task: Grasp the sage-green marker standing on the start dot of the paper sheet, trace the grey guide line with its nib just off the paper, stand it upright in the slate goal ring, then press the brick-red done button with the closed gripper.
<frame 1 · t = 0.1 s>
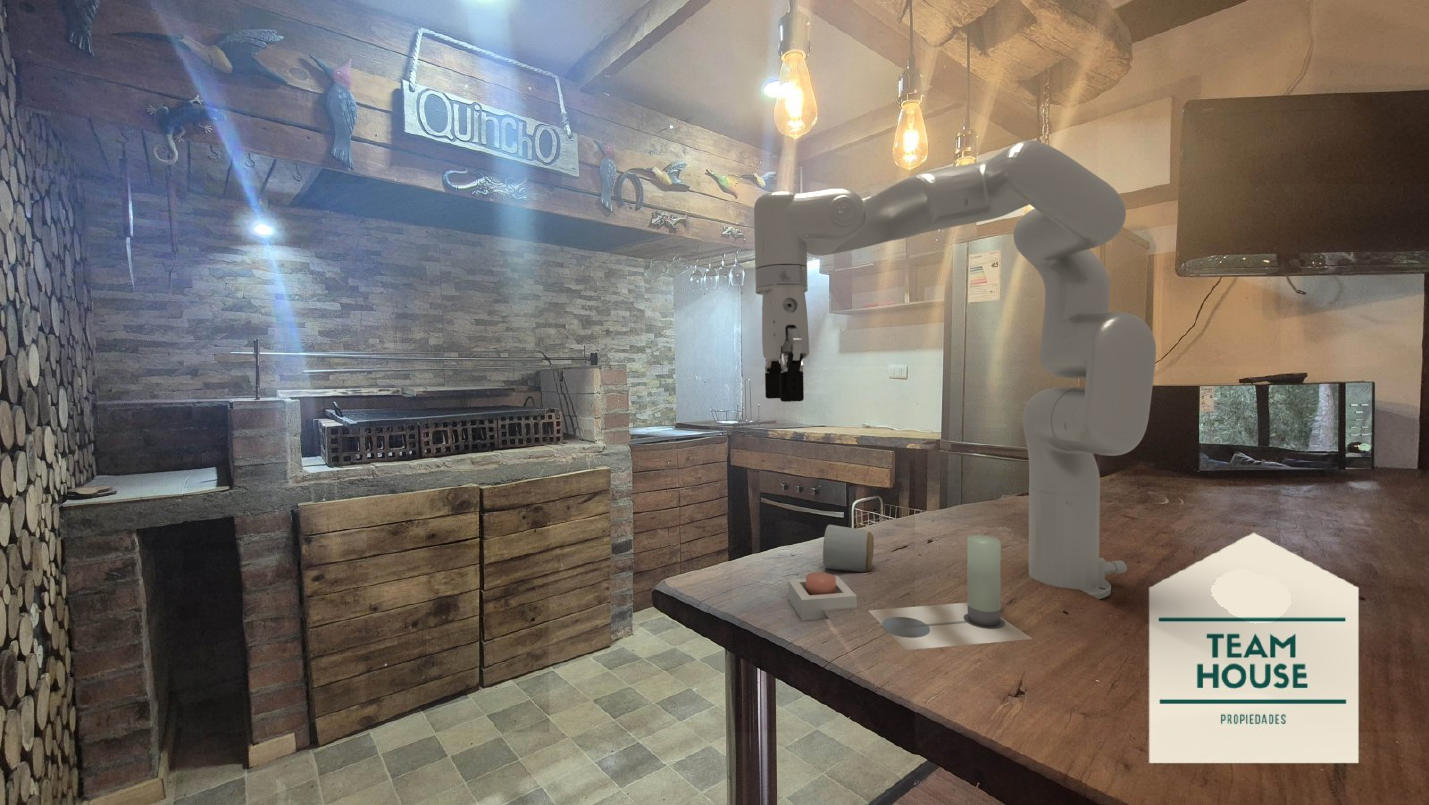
hand: (783, 399, 83), 31 cm above the table, fingers open, 9 cm apart
done button: (820, 584, 84), point 3 cm above the table, slide at 0.0 cm
ceramic mug: (848, 568, 102), on the table
marker: (983, 620, 76), point 1 cm above the table, touching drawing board
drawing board: (945, 633, 75), on the table
button housing: (821, 607, 85), on the table
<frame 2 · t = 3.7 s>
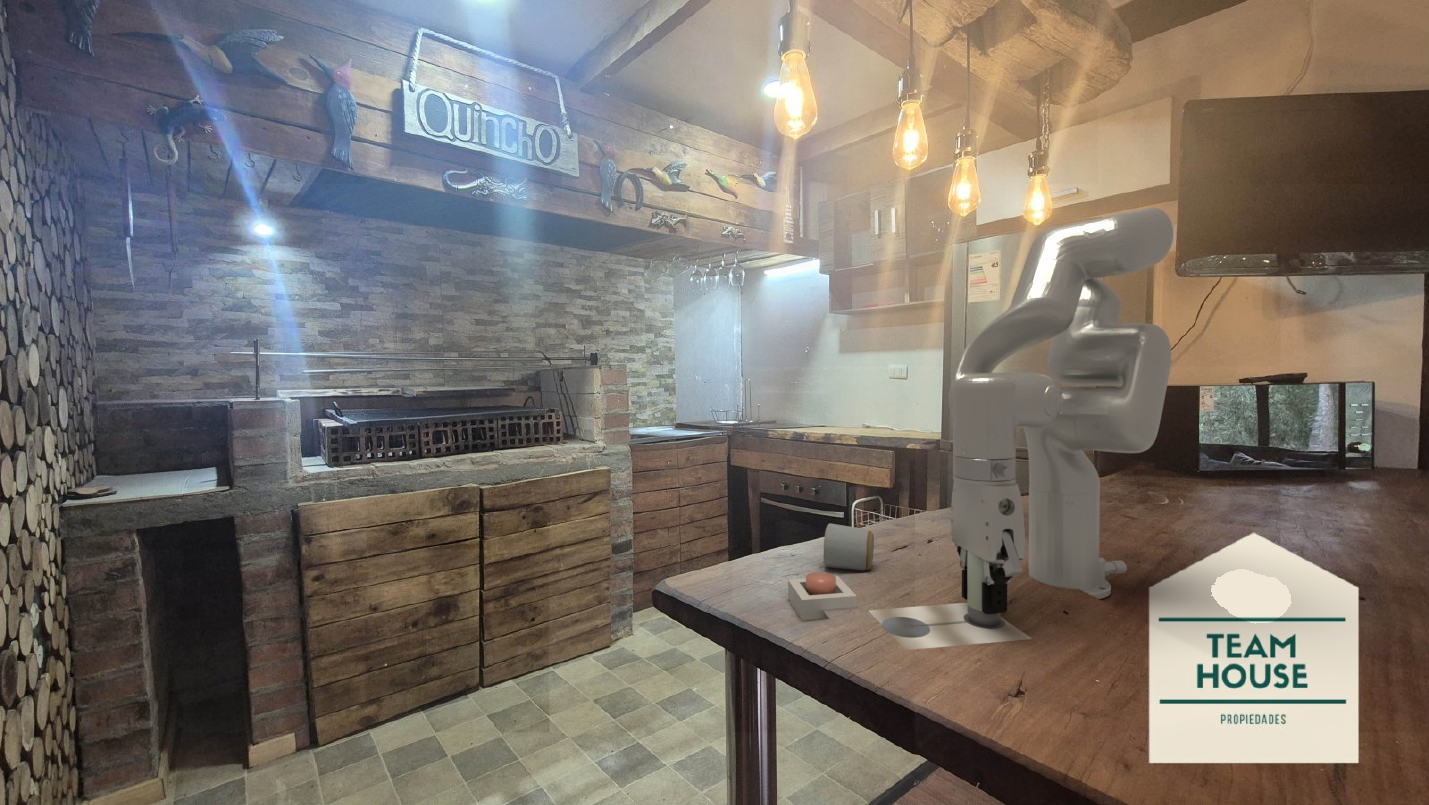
hand: (983, 603, 76), 4 cm above the table, fingers closed on marker, 3 cm apart
marker: (983, 620, 76), point 1 cm above the table, touching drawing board, gripper
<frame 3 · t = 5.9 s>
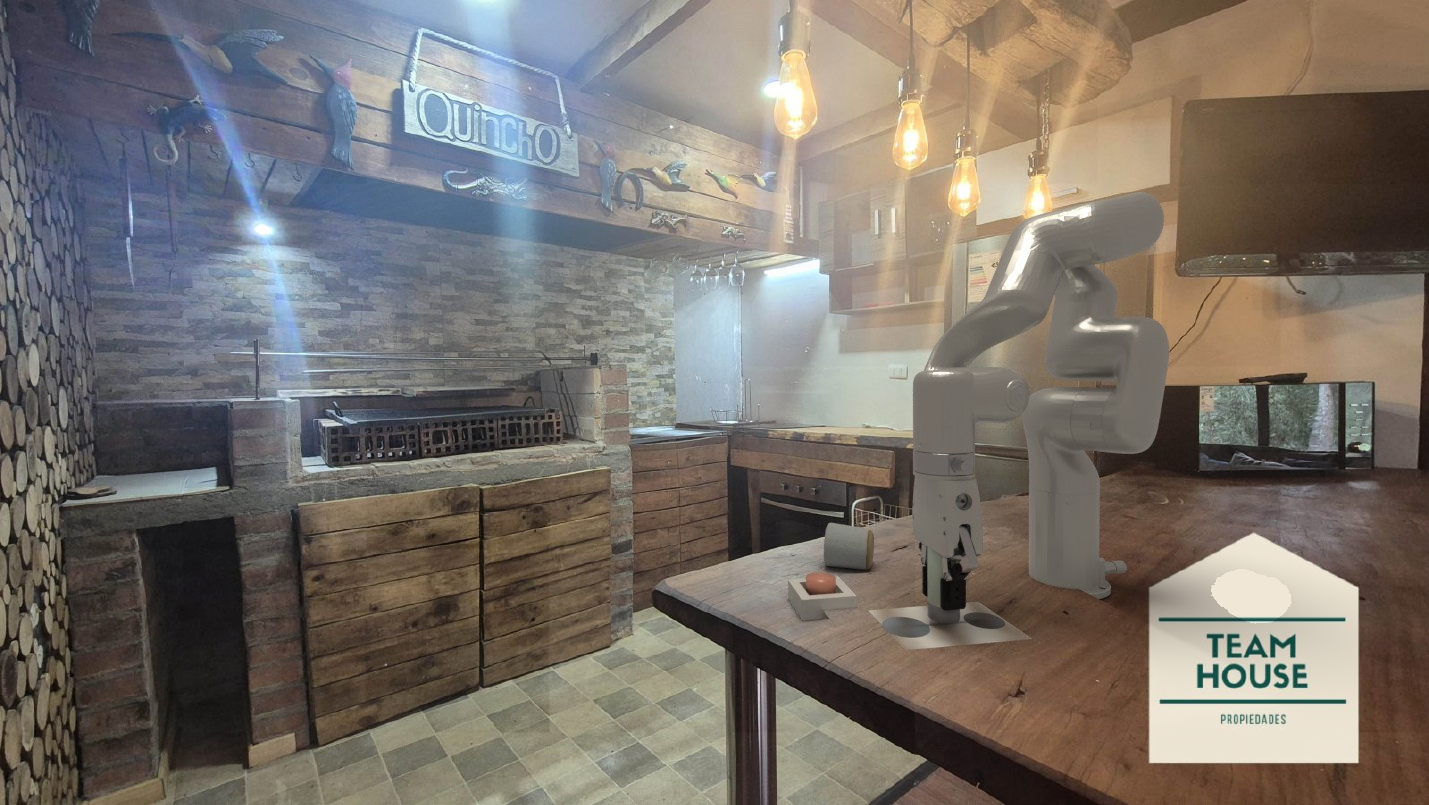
hand: (943, 600, 75), 5 cm above the table, fingers closed on marker, 3 cm apart
marker: (943, 617, 75), point 2 cm above the table, touching gripper
when the fingers open (4 cm above the table, at t = 8.1 s): marker stays where it is, resting on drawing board.
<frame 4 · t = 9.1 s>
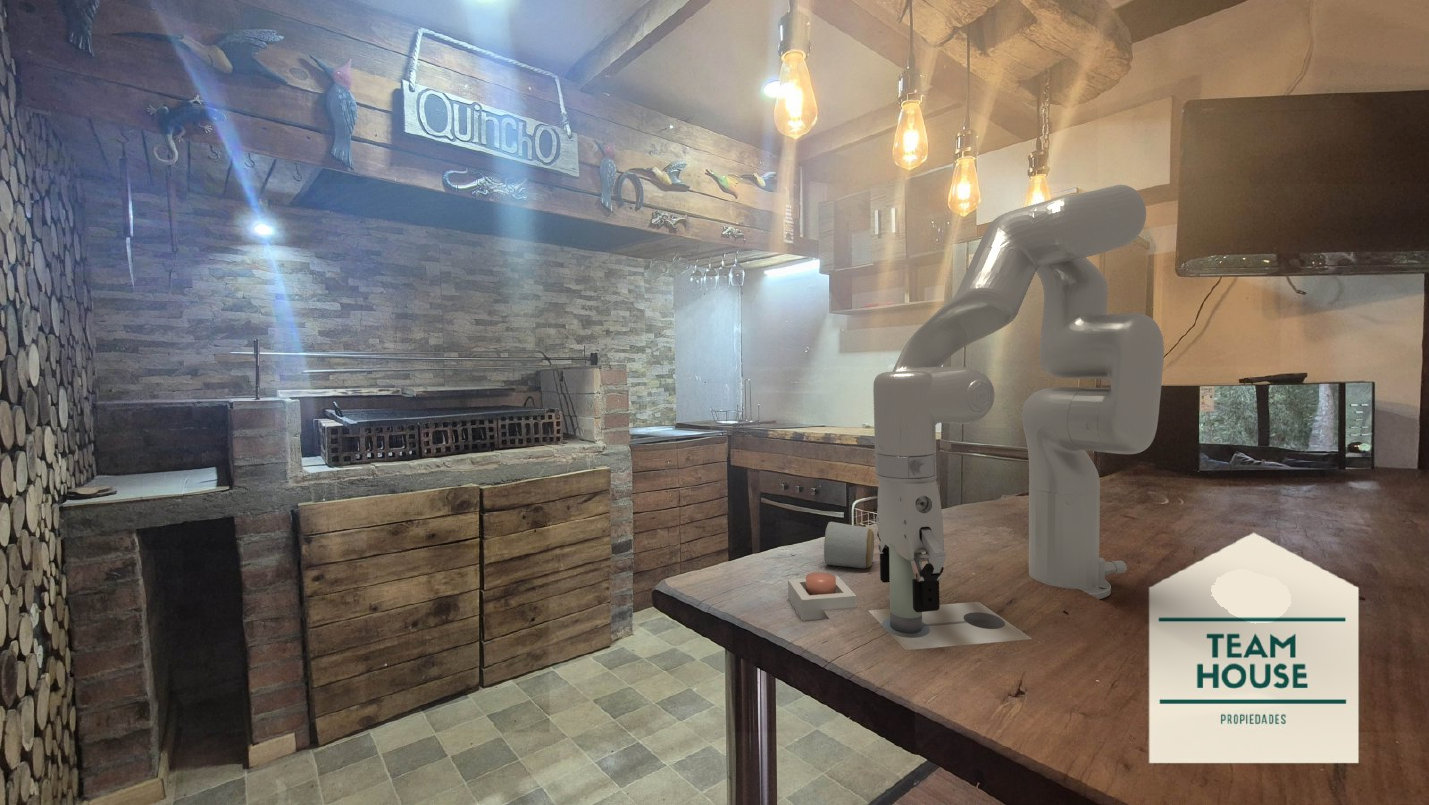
hand: (908, 594, 75), 6 cm above the table, fingers open, 9 cm apart
marker: (905, 626, 75), point 1 cm above the table, touching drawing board
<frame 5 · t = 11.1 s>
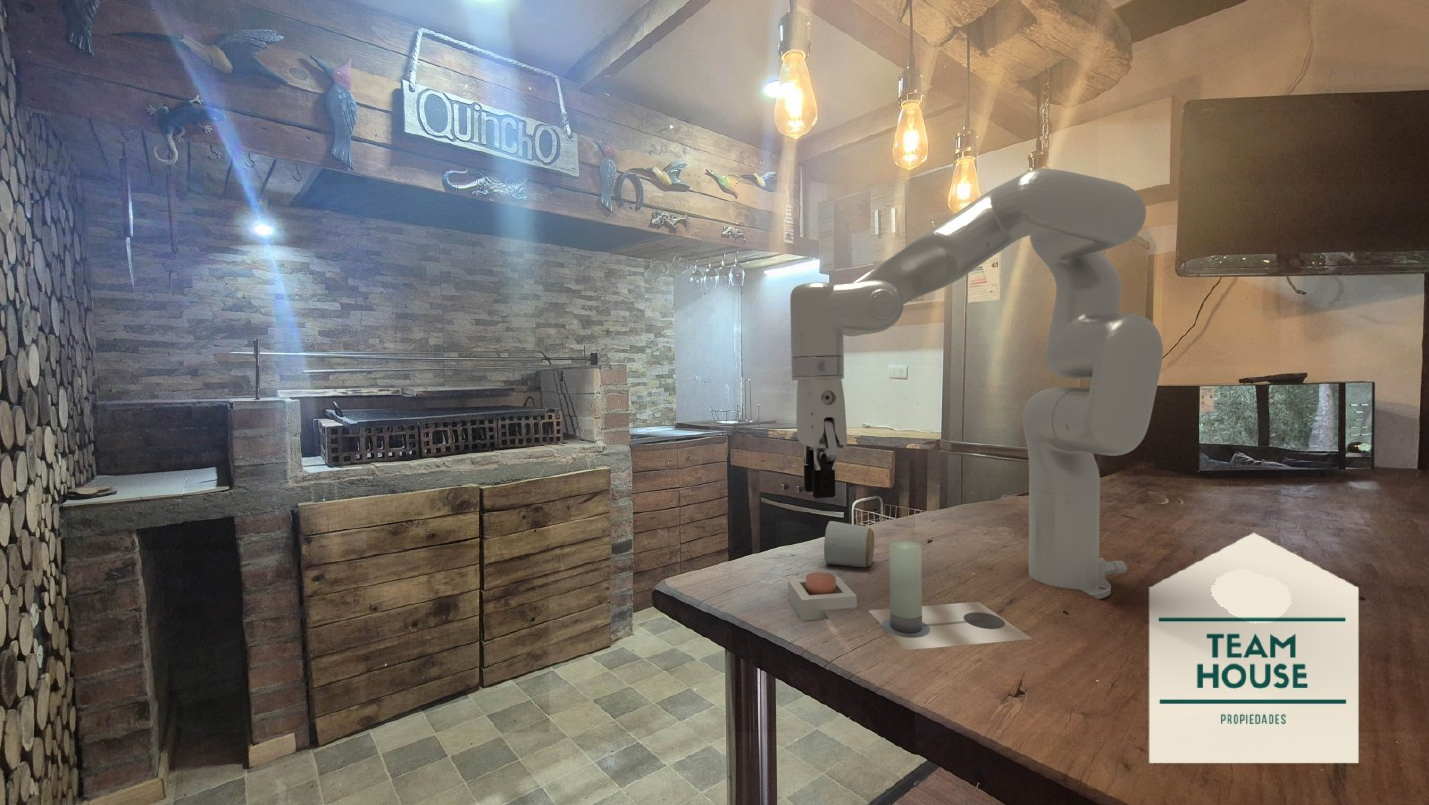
hand: (819, 492, 84), 17 cm above the table, fingers open, 3 cm apart
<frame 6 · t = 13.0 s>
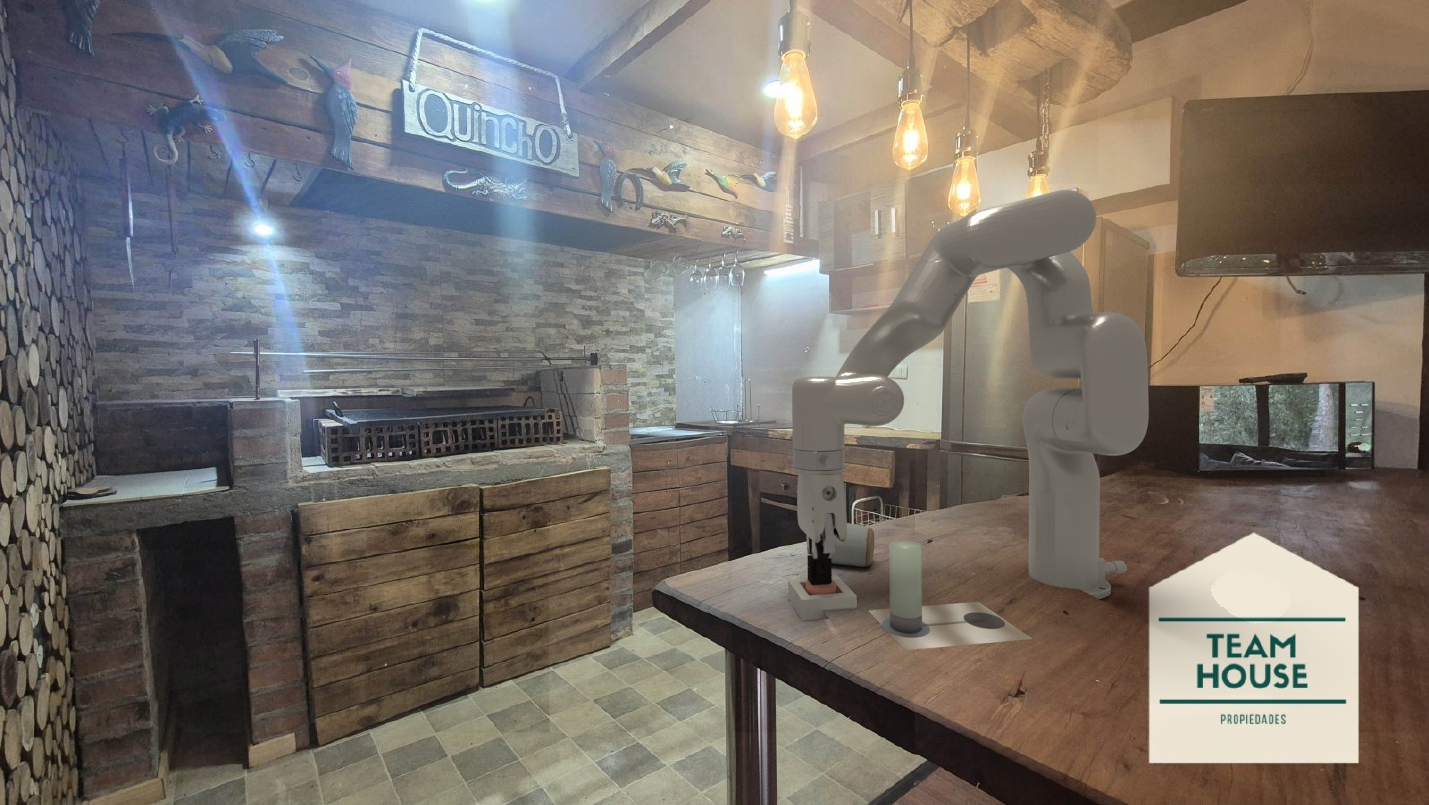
hand: (819, 582, 84), 4 cm above the table, fingers closed
done button: (820, 589, 85), point 3 cm above the table, slide at 0.8 cm
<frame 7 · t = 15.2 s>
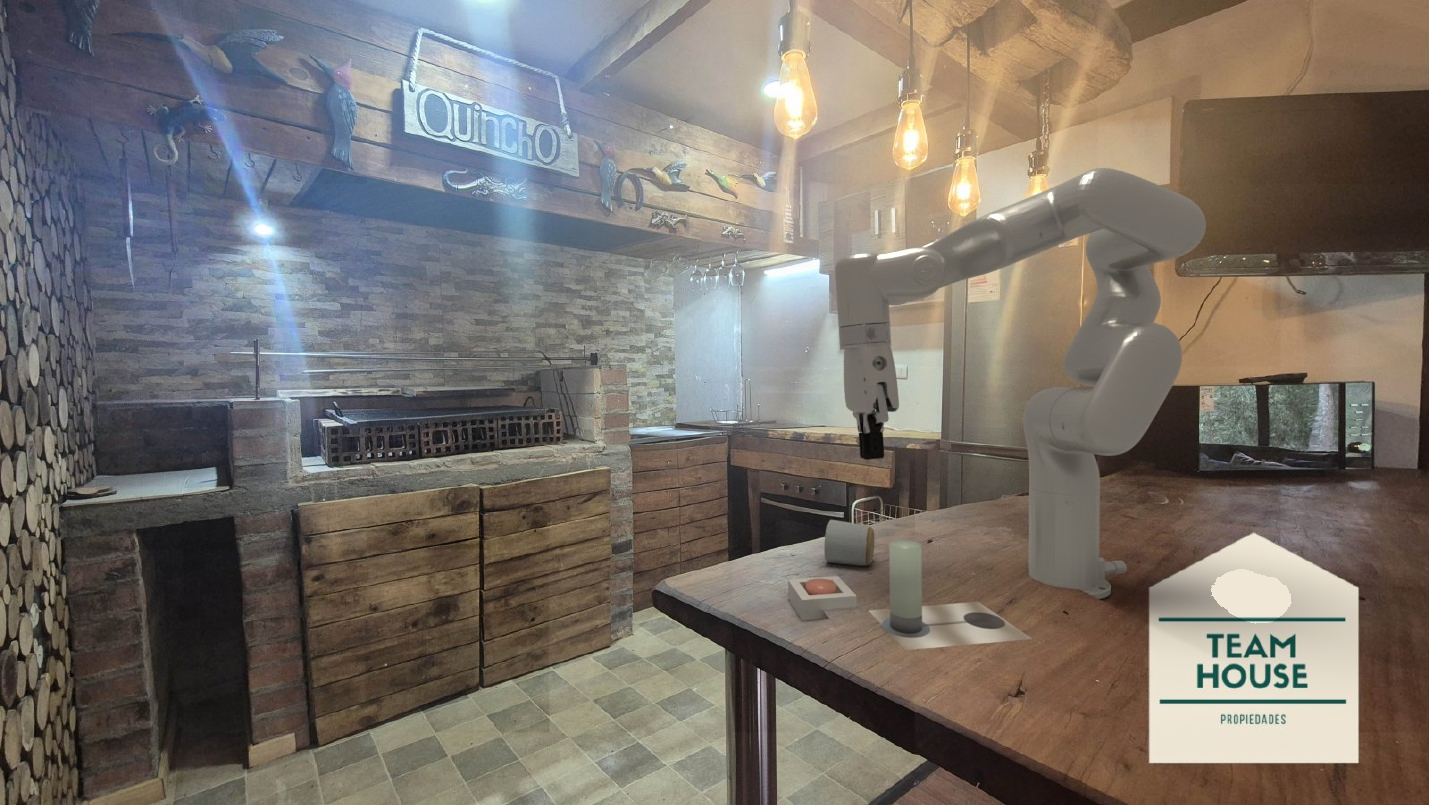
hand: (872, 457, 87), 22 cm above the table, fingers closed
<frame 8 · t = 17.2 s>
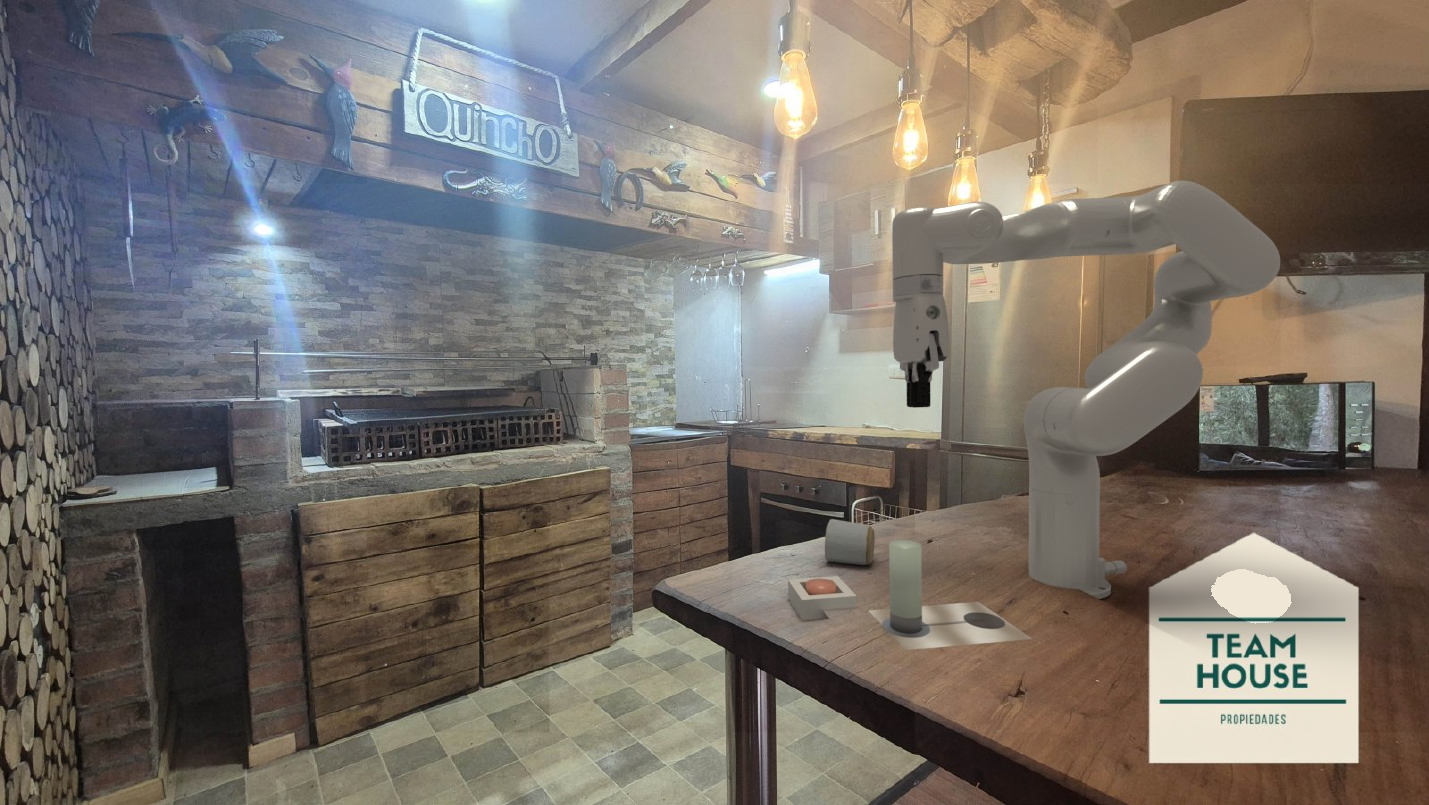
hand: (918, 406, 90), 29 cm above the table, fingers closed
at the end: marker 0.0 cm from the target spot on the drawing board, point 1.3 cm above the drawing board's base; marker tilted 0°; done button slide at 1.0 cm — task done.
